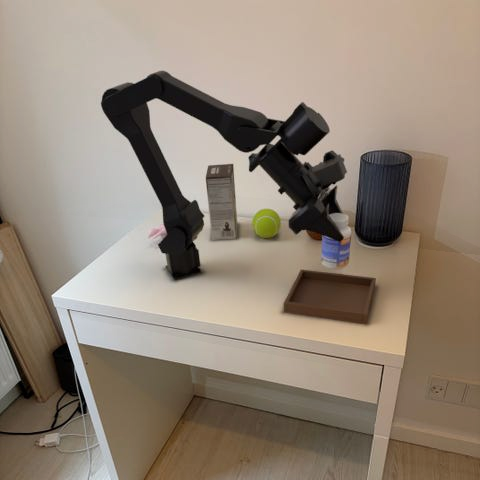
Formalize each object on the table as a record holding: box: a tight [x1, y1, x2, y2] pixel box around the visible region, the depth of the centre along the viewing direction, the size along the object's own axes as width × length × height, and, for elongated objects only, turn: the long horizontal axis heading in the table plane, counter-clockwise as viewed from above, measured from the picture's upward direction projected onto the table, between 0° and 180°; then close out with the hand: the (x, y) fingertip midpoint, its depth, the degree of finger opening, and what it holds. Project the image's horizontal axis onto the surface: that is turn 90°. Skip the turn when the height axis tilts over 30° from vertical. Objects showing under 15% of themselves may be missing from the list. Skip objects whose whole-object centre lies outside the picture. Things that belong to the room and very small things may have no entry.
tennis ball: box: [251, 208, 282, 239], centre depth 119 cm, size 7×7×7 cm
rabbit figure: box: [147, 223, 167, 240], centre depth 122 cm, size 6×6×15 cm
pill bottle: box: [320, 213, 352, 270], centre depth 93 cm, size 5×5×10 cm
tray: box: [283, 268, 377, 325], centre depth 95 cm, size 15×13×2 cm
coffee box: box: [205, 163, 238, 241], centre depth 120 cm, size 9×6×16 cm
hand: (344, 233), depth 91 cm, fingers closed on pill bottle, 5 cm apart
